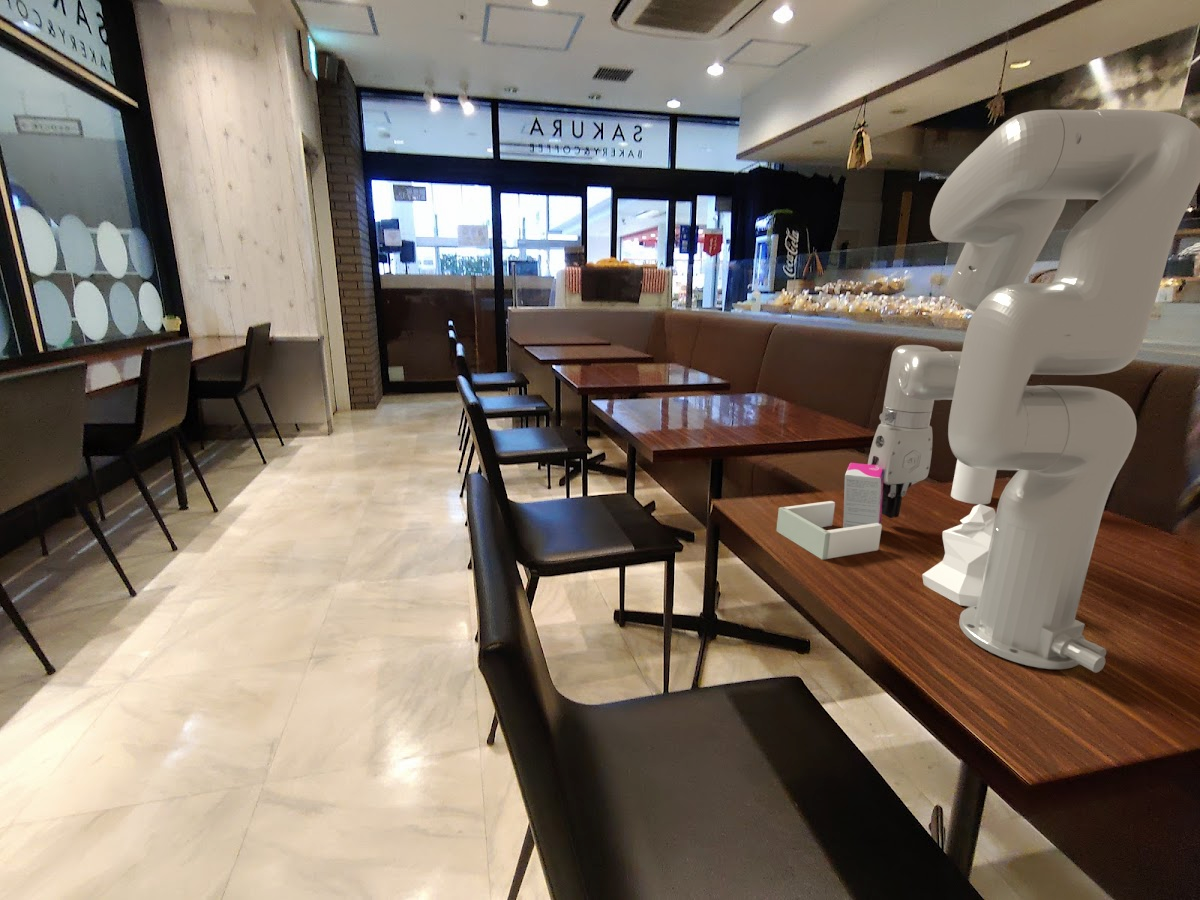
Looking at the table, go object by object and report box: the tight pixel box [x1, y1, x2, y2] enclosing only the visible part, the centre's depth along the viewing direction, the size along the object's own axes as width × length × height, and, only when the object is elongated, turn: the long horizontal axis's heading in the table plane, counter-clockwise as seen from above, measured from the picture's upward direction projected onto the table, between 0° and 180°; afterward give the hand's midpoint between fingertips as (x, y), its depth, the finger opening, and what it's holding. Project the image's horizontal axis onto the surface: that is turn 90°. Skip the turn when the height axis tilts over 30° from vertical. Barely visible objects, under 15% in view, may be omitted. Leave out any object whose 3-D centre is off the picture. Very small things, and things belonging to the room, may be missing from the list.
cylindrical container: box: [950, 458, 998, 505], centre depth 119 cm, size 7×7×25 cm
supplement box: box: [842, 462, 883, 528], centre depth 102 cm, size 6×6×12 cm
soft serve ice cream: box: [922, 504, 997, 607], centre depth 82 cm, size 12×15×14 cm
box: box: [776, 500, 883, 560], centre depth 100 cm, size 12×12×4 cm
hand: (888, 514), depth 106 cm, fingers closed
